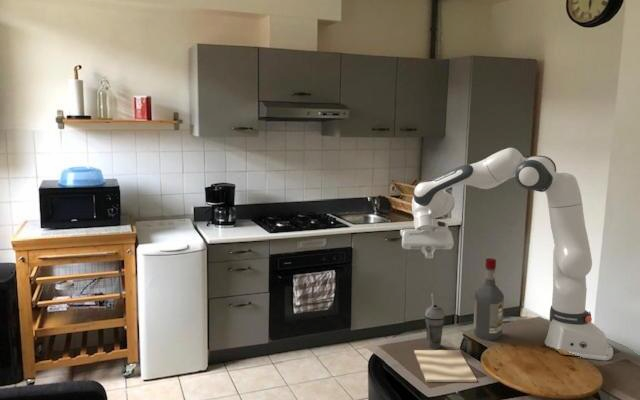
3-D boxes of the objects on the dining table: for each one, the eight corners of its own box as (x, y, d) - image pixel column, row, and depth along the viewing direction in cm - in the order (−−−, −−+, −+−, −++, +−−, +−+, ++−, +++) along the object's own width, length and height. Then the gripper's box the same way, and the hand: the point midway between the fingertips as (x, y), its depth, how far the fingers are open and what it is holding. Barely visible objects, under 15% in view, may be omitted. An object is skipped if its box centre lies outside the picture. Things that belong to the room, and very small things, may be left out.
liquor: (470, 335, 210) (474, 259, 206) (481, 328, 217) (485, 255, 212) (493, 342, 204) (497, 264, 200) (504, 334, 211) (507, 259, 206)
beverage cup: (444, 351, 197) (445, 297, 194) (423, 349, 198) (425, 296, 195) (443, 343, 204) (445, 291, 201) (423, 341, 205) (425, 290, 202)
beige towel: (414, 352, 196) (414, 350, 196) (459, 352, 196) (459, 349, 196) (426, 382, 174) (426, 379, 174) (476, 381, 174) (476, 379, 174)
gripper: (400, 223, 219) (403, 253, 211) (451, 223, 219) (456, 253, 211) (398, 232, 224) (401, 261, 216) (448, 231, 224) (453, 261, 216)
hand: (429, 257), depth 213 cm, fingers closed
